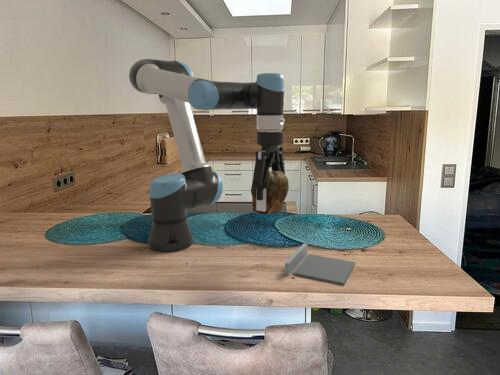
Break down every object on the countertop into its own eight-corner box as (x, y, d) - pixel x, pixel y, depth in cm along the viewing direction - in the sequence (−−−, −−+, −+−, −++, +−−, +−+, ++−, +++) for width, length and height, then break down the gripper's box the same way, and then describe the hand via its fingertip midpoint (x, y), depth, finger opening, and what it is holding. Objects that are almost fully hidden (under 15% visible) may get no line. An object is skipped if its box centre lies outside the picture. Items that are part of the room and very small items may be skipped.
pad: (293, 274, 99) (293, 272, 99) (309, 255, 111) (309, 254, 111) (344, 285, 93) (344, 282, 93) (355, 264, 105) (355, 262, 105)
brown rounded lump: (286, 217, 100) (286, 175, 97) (247, 215, 102) (247, 173, 100) (289, 206, 111) (290, 168, 108) (255, 204, 113) (254, 167, 110)
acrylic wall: (284, 274, 99) (284, 262, 98) (303, 253, 113) (303, 243, 112) (288, 275, 99) (288, 263, 98) (307, 254, 112) (307, 243, 112)
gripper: (264, 134, 89) (264, 218, 94) (296, 128, 109) (295, 197, 114) (238, 133, 93) (239, 214, 98) (274, 127, 113) (273, 195, 118)
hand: (269, 205), depth 106 cm, fingers closed on brown rounded lump, 11 cm apart
